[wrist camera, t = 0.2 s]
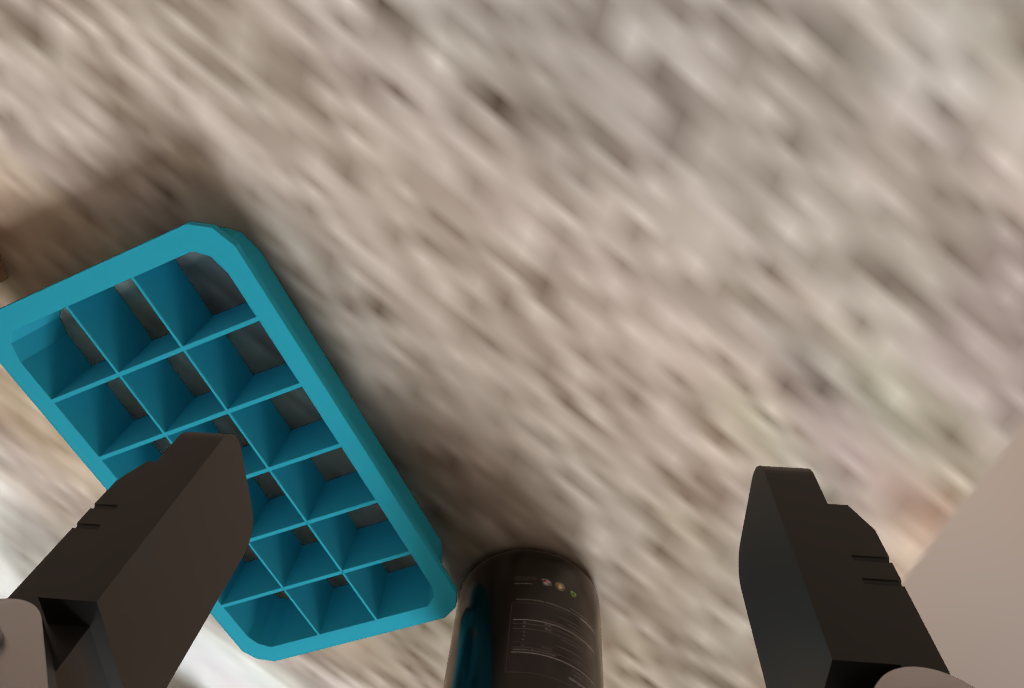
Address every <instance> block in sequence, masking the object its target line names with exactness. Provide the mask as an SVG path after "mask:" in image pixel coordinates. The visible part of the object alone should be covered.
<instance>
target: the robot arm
mask: <svg viewBox="0 0 1024 688" xmlns="http://www.w3.org/2000/svg"><path fill="white" fill-rule="evenodd" d="M252 526H253V513H252V506H251V501H250V495H249V490H248V484H247V478H246V473H245V467H244V462H243V456H242V451H241V446H240V443H239V440H238V439H237V437H236V436H235V435H233V434H220V433H203V432H184V433H182V434H180V435H179V436H178V437H177V439H176V440H175V441H174V442H173V443H172V444H171V445H170V447H169V448H168V449H167V450H166V451H165V452H164V453H163V455H162V456H161V457H160V458H159V459H158V460H157V461H156V462H153V461H147V462H145V463H144V464H142V465H141V466H139V467H137V468H136V469H134V470H132V471H131V472H129V473H128V474H126V475H124V476H123V477H121V478H119V479H118V480H116V481H115V482H114V483H113V485H112V486H111V487H110V488H109V489H108V490H107V491H106V492H105V493H104V494H103V495H102V496H101V498H100V499H99V500H98V501H97V502H96V503H95V507H94V509H92V508H90V509H89V511H88V512H87V513H86V514H85V515H84V516H83V517H82V518H81V519H80V520H79V521H78V523H77V527H76V528H72V529H71V530H70V531H69V532H68V533H67V534H66V536H65V537H64V538H63V539H62V540H61V541H60V542H59V543H58V544H57V545H56V546H55V547H54V549H53V550H52V551H51V552H50V553H49V554H48V555H47V556H46V557H45V558H44V559H43V560H42V562H41V563H40V564H39V565H38V566H37V567H36V568H35V569H34V570H33V571H32V572H31V574H30V575H29V576H28V577H27V578H26V579H25V580H24V581H23V582H22V583H21V584H20V585H19V587H18V588H17V589H16V590H15V591H14V592H13V593H12V594H11V595H10V596H9V597H8V598H6V599H0V688H166V687H167V686H168V684H169V682H170V681H171V679H172V677H173V676H174V674H175V672H176V670H177V669H178V667H179V665H180V664H181V662H182V660H183V658H184V657H185V655H186V653H187V652H188V650H189V648H190V646H191V645H192V643H193V641H194V640H195V638H196V636H197V634H198V633H199V631H200V629H201V628H202V626H203V624H204V622H205V621H206V619H207V617H208V616H209V614H210V612H211V610H212V609H213V607H214V605H215V604H216V602H217V600H218V598H219V597H220V595H221V593H222V592H223V590H224V588H225V587H226V585H227V583H228V581H229V580H230V578H231V576H232V575H233V573H234V571H235V569H236V568H237V566H238V564H239V563H240V561H241V559H242V557H243V556H244V554H245V552H246V550H247V548H248V545H249V542H250V538H251V533H252ZM739 578H740V585H741V590H742V594H743V598H744V602H745V606H746V610H747V614H748V617H749V621H750V625H751V629H752V633H753V637H754V641H755V645H756V649H757V653H758V657H759V660H760V664H761V668H762V672H763V676H764V680H765V684H766V688H974V687H973V686H971V685H969V684H968V683H966V682H964V681H962V680H960V679H958V678H956V677H954V676H951V675H950V673H949V671H948V669H947V667H946V665H945V663H944V661H943V659H942V658H941V656H940V654H939V652H938V650H937V648H936V646H935V644H934V642H933V640H932V638H931V636H930V634H929V633H928V631H927V629H926V627H925V625H924V623H923V621H922V619H921V617H920V615H919V613H918V612H917V610H916V608H915V606H914V604H913V602H912V600H911V598H910V596H909V594H908V593H907V591H906V589H905V587H903V586H901V579H900V577H899V575H898V573H897V571H896V569H895V568H894V566H893V564H892V563H889V556H888V554H887V552H886V550H885V548H884V546H883V545H882V543H881V541H880V539H879V537H878V535H877V533H876V531H875V530H874V529H873V528H872V527H871V526H870V525H869V524H868V523H867V522H866V521H865V520H863V519H862V518H861V517H860V516H859V515H858V514H857V513H856V512H855V511H853V510H852V509H851V508H850V507H849V506H848V505H836V504H827V502H826V499H825V497H824V495H823V493H822V491H821V489H820V486H819V484H818V482H817V480H816V478H815V476H814V474H813V472H812V471H811V470H810V469H804V468H787V467H770V466H758V467H757V468H756V469H755V471H754V474H753V478H752V483H751V488H750V493H749V499H748V504H747V509H746V515H745V520H744V525H743V531H742V536H741V542H740V548H739Z"/></svg>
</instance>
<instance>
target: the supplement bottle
mask: <svg viewBox="0 0 1024 688" xmlns="http://www.w3.org/2000/svg"><path fill="white" fill-rule="evenodd" d="M443 688H603V666H602V643H601V621H600V607H599V600H598V595H597V592H596V590H595V587H594V585H593V584H592V582H591V580H590V579H589V578H588V576H587V575H586V574H585V573H584V572H583V571H582V570H581V569H580V568H579V567H578V566H576V565H575V564H573V563H572V562H570V561H569V560H567V559H565V558H563V557H561V556H558V555H556V554H553V553H550V552H546V551H541V550H532V549H519V550H511V551H506V552H502V553H499V554H496V555H494V556H492V557H490V558H488V559H486V560H484V561H483V562H481V563H480V564H479V565H478V566H476V567H475V568H474V569H473V570H472V571H471V572H470V574H469V575H468V576H467V578H466V580H465V581H464V583H463V586H462V588H461V592H460V596H459V601H458V606H457V611H456V617H455V622H454V628H453V634H452V640H451V646H450V651H449V657H448V663H447V669H446V674H445V680H444V686H443Z"/></svg>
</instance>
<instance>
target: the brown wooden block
mask: <svg viewBox="0 0 1024 688" xmlns="http://www.w3.org/2000/svg"><path fill="white" fill-rule="evenodd" d="M7 278H8V276H7V273H6V270H5V267H4V264H3V261H2V258H1V256H0V282H2V281H4V280H6V279H7Z"/></svg>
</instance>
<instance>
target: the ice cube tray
mask: <svg viewBox="0 0 1024 688" xmlns="http://www.w3.org/2000/svg"><path fill="white" fill-rule="evenodd" d="M191 251H193V252H197V253H200V254H204V255H208V256H211V257H212V258H213V259H214V260H215V261H216V262H217V263H218V264H219V265H220V266H221V267H222V268H223V269H224V270H225V271H226V272H227V273H228V274H229V275H230V277H231V278H232V280H233V282H234V283H235V285H236V286H237V288H238V289H239V291H240V292H241V294H242V295H243V297H244V298H245V300H246V302H245V303H243V304H240V305H238V306H236V307H233V308H231V309H228V310H226V311H223V312H221V313H219V314H216V315H214V316H213V314H212V313H211V312H210V310H209V309H208V307H207V306H206V304H205V303H204V301H203V300H202V298H201V297H200V295H199V294H198V292H197V291H196V289H195V288H194V287H193V285H192V284H191V282H190V281H189V279H188V278H187V276H186V275H185V273H184V272H183V270H182V269H181V267H180V266H179V264H178V263H177V261H176V260H175V259H176V258H178V257H180V256H182V255H185V254H187V253H189V252H191ZM130 278H131V279H132V280H133V282H134V283H135V284H136V286H137V287H138V289H139V290H140V291H141V293H142V294H143V296H144V297H145V298H146V300H147V301H148V303H149V304H150V305H151V307H152V308H153V310H154V311H155V312H156V314H157V315H158V317H159V318H160V319H161V321H162V322H163V324H164V325H165V326H166V328H167V329H168V331H169V332H170V334H167V335H165V336H163V337H160V338H158V339H155V340H152V338H151V337H150V335H149V334H148V333H147V331H146V330H145V329H144V327H143V326H142V325H141V323H140V322H139V320H138V319H137V318H136V316H135V315H134V314H133V312H132V311H131V309H130V308H129V307H128V305H127V304H126V303H125V301H124V300H123V298H122V297H121V296H120V294H119V293H118V292H117V290H116V289H115V288H114V286H115V285H117V284H119V283H121V282H124V281H126V280H128V279H130ZM65 307H66V308H67V310H68V311H69V312H70V314H71V315H72V316H73V317H74V319H75V320H76V321H77V323H78V324H79V325H80V327H81V328H82V329H83V330H84V332H85V333H86V334H87V336H88V337H89V338H90V340H91V341H92V342H93V343H94V345H95V346H96V347H97V349H98V350H99V351H100V353H101V354H102V355H103V356H104V358H105V359H106V360H104V361H102V362H99V363H97V364H95V365H91V364H90V362H89V361H88V360H87V358H86V357H85V356H84V355H83V353H82V352H81V351H80V349H79V348H78V347H77V346H76V344H75V343H74V342H73V341H72V339H71V338H70V337H69V335H68V334H67V332H66V330H65V328H64V325H63V323H62V321H61V319H60V313H61V309H63V308H65ZM258 321H260V323H261V325H262V326H263V328H264V329H265V331H266V332H267V334H268V335H269V337H270V338H271V340H272V341H273V343H274V345H275V346H276V348H277V349H278V351H279V352H280V354H281V355H282V357H283V358H284V360H285V361H286V363H284V364H282V365H279V366H276V367H274V368H271V369H269V370H266V371H263V372H261V373H258V374H255V375H253V373H252V372H251V370H250V369H249V367H248V366H247V365H246V363H245V362H244V360H243V359H242V357H241V356H240V354H239V353H238V351H237V350H236V348H235V347H234V345H233V344H232V342H231V341H230V340H229V338H228V337H227V335H226V334H228V333H230V332H233V331H235V330H238V329H240V328H243V327H245V326H248V325H250V324H253V323H255V322H258ZM180 352H184V353H185V354H186V356H187V357H188V359H189V360H190V361H191V363H192V364H193V366H194V367H195V368H196V370H197V371H198V373H199V374H200V375H201V377H202V378H203V380H204V381H205V382H206V384H207V385H208V387H209V388H210V389H211V391H210V392H208V393H205V394H203V395H200V396H197V397H194V396H193V394H192V393H191V392H190V390H189V389H188V388H187V386H186V385H185V383H184V382H183V381H182V379H181V378H180V377H179V375H178V374H177V372H176V371H175V370H174V368H173V367H172V366H171V364H170V363H169V361H168V360H167V359H166V358H168V357H170V356H173V355H175V354H178V353H180ZM0 364H1V365H2V366H3V367H4V368H5V369H6V371H7V372H8V373H9V374H10V375H11V377H12V378H13V379H14V380H15V381H16V383H17V384H18V385H19V386H20V387H21V388H22V390H23V391H24V392H25V393H26V394H27V396H28V397H29V398H30V399H31V400H32V402H33V403H34V404H35V405H36V406H37V407H38V409H39V410H40V411H41V412H42V413H43V415H44V416H45V417H46V418H47V419H48V421H49V422H50V423H51V424H52V425H53V426H54V428H55V429H56V430H57V431H58V432H59V434H60V435H61V436H62V437H63V438H64V440H65V441H66V442H67V443H68V444H69V446H70V447H71V448H72V449H73V450H74V451H75V453H76V454H77V455H78V456H79V457H80V459H81V460H82V461H83V462H84V463H85V465H86V466H87V467H88V468H89V469H90V470H91V472H92V473H93V474H94V475H95V476H96V478H97V479H98V480H99V481H100V482H101V484H102V485H103V486H104V487H105V488H106V489H107V490H108V489H109V488H110V487H111V486H112V485H113V483H114V482H115V481H116V480H118V479H119V478H121V477H123V476H124V475H126V474H128V473H129V472H131V471H132V470H134V469H136V468H137V467H139V466H141V465H142V464H144V463H145V462H147V461H153V462H156V461H157V460H158V459H159V458H160V457H161V456H162V454H161V453H160V452H159V450H158V449H157V448H156V447H155V445H154V444H153V443H152V442H153V441H155V440H158V439H161V438H164V437H166V438H167V440H168V441H169V442H170V444H172V443H173V442H174V441H175V440H176V439H177V437H178V436H179V435H180V434H182V433H184V432H203V433H220V431H219V430H218V429H217V427H216V426H215V425H214V423H213V422H212V420H213V419H215V418H218V417H221V416H223V415H226V414H228V415H229V416H230V417H231V419H232V420H233V422H234V423H235V424H236V426H237V427H238V429H239V430H240V431H241V433H242V434H243V436H244V437H245V438H246V440H247V441H248V443H249V444H250V445H247V446H244V447H242V448H241V451H242V456H243V462H244V467H245V473H246V478H247V484H248V490H249V495H250V501H251V506H252V513H253V526H252V533H251V538H250V542H249V546H250V548H251V549H252V550H253V551H254V553H255V554H256V555H257V557H258V558H259V559H256V560H253V561H250V562H246V561H245V560H244V559H243V558H242V559H241V561H240V563H239V564H238V566H237V568H236V569H235V571H234V573H233V575H232V576H231V578H230V580H229V581H228V583H227V585H226V587H225V588H224V590H223V592H222V593H221V595H220V597H219V598H218V600H217V602H216V604H215V605H214V607H213V609H212V610H211V612H210V613H211V614H212V615H213V617H214V618H215V619H216V620H217V621H218V623H219V624H220V625H221V626H222V627H223V629H224V630H225V631H226V632H227V633H228V634H229V636H230V637H231V638H232V639H233V640H234V642H235V643H236V644H237V645H238V646H239V648H240V649H241V650H242V651H243V652H245V653H247V654H249V655H251V656H253V657H255V658H257V659H263V660H270V661H277V660H281V659H285V658H289V657H293V656H297V655H301V654H304V653H308V652H312V651H316V650H320V649H324V648H328V647H332V646H336V645H340V644H344V643H347V642H351V641H355V640H359V639H363V638H367V637H371V636H375V635H379V634H383V633H387V632H390V631H394V630H398V629H402V628H406V627H410V626H414V625H418V624H422V623H426V622H429V621H433V620H437V619H441V618H445V617H446V616H447V615H448V614H449V613H450V612H451V611H452V610H453V609H454V608H455V607H456V602H457V590H458V589H457V588H456V586H455V585H454V583H453V581H452V580H451V578H450V577H449V575H448V573H447V572H446V570H445V569H444V567H443V566H442V557H443V551H442V543H441V540H440V539H439V537H438V536H437V534H436V532H435V531H434V529H433V528H432V526H431V524H430V523H429V521H428V520H427V518H426V516H425V515H424V513H423V512H422V510H421V508H420V507H419V505H418V504H417V502H416V500H415V499H414V497H413V495H412V494H411V492H410V491H409V489H408V487H407V486H406V484H405V483H404V481H403V479H402V478H401V476H400V475H399V473H398V471H397V470H396V468H395V467H394V465H393V463H392V462H391V460H390V459H389V457H388V455H387V454H386V452H385V451H384V449H383V447H382V446H381V444H380V443H379V441H378V439H377V438H376V436H375V434H374V433H373V431H372V430H371V428H370V426H369V425H368V423H367V422H366V420H365V418H364V417H363V415H362V414H361V412H360V410H359V409H358V407H357V406H356V404H355V402H354V401H353V399H352V398H351V396H350V394H349V393H348V391H347V390H346V388H345V386H344V385H343V383H342V382H341V380H340V378H339V377H338V375H337V373H336V372H335V370H334V369H333V367H332V365H331V364H330V362H329V361H328V359H327V357H326V356H325V354H324V353H323V351H322V349H321V348H320V346H319V345H318V343H317V341H316V340H315V338H314V337H313V335H312V333H311V332H310V330H309V329H308V327H307V325H306V324H305V322H304V320H303V319H302V317H301V316H300V314H299V312H298V311H297V309H296V308H295V306H294V304H293V303H292V301H291V300H290V298H289V296H288V295H287V293H286V292H285V290H284V288H283V287H282V285H281V284H280V282H279V280H278V279H277V277H276V276H275V274H274V272H273V271H272V269H271V268H270V266H269V264H268V263H267V261H266V259H265V258H264V256H263V255H262V253H261V251H260V250H259V249H258V248H257V247H256V246H255V245H254V244H253V243H252V242H251V241H250V240H249V239H248V238H247V237H246V236H245V235H244V234H243V233H242V232H239V231H235V230H232V229H228V228H225V227H221V228H219V227H218V226H216V225H213V224H206V223H199V222H192V221H190V222H188V223H186V224H184V225H182V226H179V227H177V228H175V229H173V230H171V231H168V232H166V233H164V234H162V235H160V236H157V237H155V238H153V239H151V240H149V241H147V242H144V243H142V244H140V245H138V246H136V247H133V248H131V249H129V250H127V251H125V252H122V253H120V254H118V255H116V256H114V257H112V258H109V259H107V260H105V261H103V262H101V263H98V264H96V265H94V266H92V267H90V268H87V269H85V270H83V271H81V272H79V273H76V274H74V275H72V276H70V277H68V278H66V279H63V280H61V281H59V282H57V283H55V284H52V285H50V286H48V287H46V288H44V289H41V290H39V291H37V292H35V293H33V294H30V295H28V296H26V297H24V298H22V299H20V300H17V301H15V302H13V303H11V304H9V305H6V306H4V307H2V308H0ZM118 377H120V379H121V380H122V381H123V382H124V384H125V385H126V386H127V388H128V389H129V390H130V392H131V393H132V394H133V395H134V397H135V398H136V399H137V401H138V402H139V403H140V405H141V406H142V407H143V408H144V410H145V411H146V412H147V414H148V415H147V416H145V417H142V418H139V419H137V420H134V418H133V417H132V416H131V415H130V413H129V412H128V411H127V409H126V408H125V407H124V406H123V404H122V403H121V402H120V401H119V399H118V398H117V397H116V395H115V394H114V393H113V392H112V390H111V389H110V388H109V387H108V385H107V384H106V382H108V381H111V380H113V379H116V378H118ZM300 387H302V388H303V389H304V391H305V392H306V394H307V395H308V397H309V398H310V400H311V401H312V403H313V404H314V406H315V408H316V409H317V411H318V412H319V414H320V415H321V417H322V418H323V419H322V420H319V421H316V422H313V423H310V424H307V425H304V426H302V427H299V428H296V429H293V430H291V429H290V428H289V426H288V425H287V423H286V422H285V420H284V419H283V418H282V416H281V415H280V413H279V412H278V410H277V409H276V407H275V406H274V404H273V403H272V401H271V400H270V398H273V397H275V396H278V395H281V394H283V393H286V392H289V391H292V390H294V389H297V388H300ZM220 434H221V433H220ZM340 447H342V449H343V451H344V452H345V454H346V455H347V457H348V458H349V460H350V461H351V463H352V464H353V466H354V467H355V469H356V472H353V473H350V474H347V475H344V476H341V477H338V478H335V479H331V480H328V481H325V479H324V478H323V476H322V475H321V473H320V472H319V471H318V469H317V468H316V466H315V465H314V463H313V462H312V460H311V459H310V457H313V456H316V455H319V454H322V453H325V452H328V451H331V450H334V449H337V448H340ZM266 472H270V473H271V475H272V476H273V478H274V479H275V480H276V482H277V483H278V485H279V486H280V487H281V489H282V490H283V492H284V493H285V495H282V496H279V497H276V498H273V499H270V500H269V498H268V497H267V496H266V494H265V493H264V492H263V490H262V489H261V488H260V486H259V485H258V483H257V482H256V481H255V479H254V478H253V477H254V476H257V475H260V474H263V473H266ZM375 503H378V504H379V506H380V507H381V509H382V510H383V512H384V514H385V515H386V517H387V518H388V520H386V521H383V522H380V523H376V524H373V525H370V526H366V527H363V528H360V529H358V528H357V526H356V525H355V523H354V522H353V521H352V519H351V518H350V516H349V515H348V513H347V512H349V511H353V510H356V509H359V508H362V507H366V506H369V505H372V504H375ZM304 525H308V527H309V528H310V529H311V531H312V532H313V534H314V535H315V536H316V538H317V539H318V541H316V542H313V543H310V544H306V545H302V544H301V542H300V541H299V540H298V538H297V537H296V535H295V534H294V533H293V531H292V530H291V529H294V528H298V527H301V526H304ZM410 554H411V555H412V557H413V558H414V560H415V561H416V563H417V564H418V565H414V566H410V567H407V568H403V569H400V570H396V571H393V572H389V573H388V572H387V571H386V569H385V568H384V566H383V565H382V562H386V561H389V560H393V559H396V558H400V557H403V556H407V555H410ZM340 574H343V576H344V577H345V578H346V580H347V581H348V583H349V584H346V585H342V586H339V587H335V588H333V586H332V585H331V583H330V582H329V581H328V579H327V578H330V577H333V576H337V575H340ZM280 591H284V592H285V593H286V594H287V596H288V597H289V598H290V600H288V599H284V598H280V597H277V596H276V595H274V594H273V593H277V592H280Z"/></svg>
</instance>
